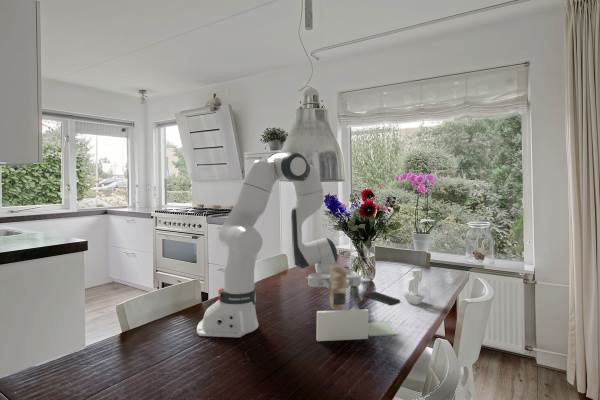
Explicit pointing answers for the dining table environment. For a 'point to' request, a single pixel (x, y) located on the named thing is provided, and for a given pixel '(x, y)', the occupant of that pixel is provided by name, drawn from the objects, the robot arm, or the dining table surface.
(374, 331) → the pad
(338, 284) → the marked block
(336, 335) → the upright white panel
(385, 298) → the phone
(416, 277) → the figurine
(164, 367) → the dining table surface
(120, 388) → the dining table surface
